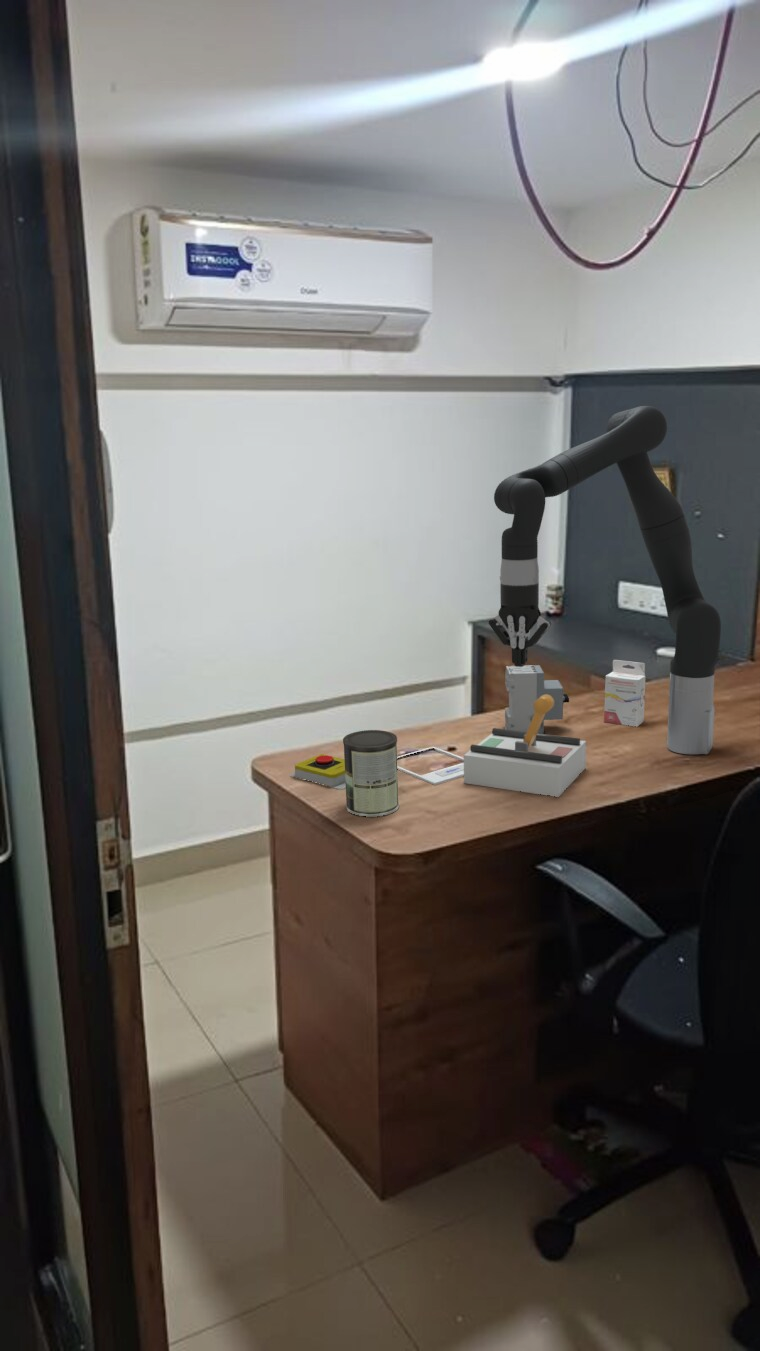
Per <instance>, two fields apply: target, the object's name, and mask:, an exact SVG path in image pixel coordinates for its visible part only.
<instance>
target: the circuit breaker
mask: <svg viewBox="0 0 760 1351" xmlns="http://www.w3.org/2000/svg"><path fill="white" fill-rule="evenodd" d="M504 676H505V677H504V680H505V681H504V684H505V689H506V692H507V693H508V706H507V707H505V708H504V715H505V716H504V720H505V723H504V724H505V725H504V727H505V729H506V730H514V731H522V732H527V731H528V729H529V726H530V724H531V721H532V719H533V717H534V714H535V712H536V711H535V710H534V707H533V705H534V702H535V701H536V700H537V699H538V698H540V697H541V696H542V695H545V694H547V695H550V696H551V697H552V698H553V699H554V706H553V708H552V709H550V710H549V711H548V712H547V713H545V716H544V718H543V721H542V723H541V725H540V728H539V730H538V732H537V733H539V734H544V732H545V730H544V729H545V728H544V725H545V723H544V721H551V720H554V721H556V720H563V719H564V704H565V703H570V698H569V695H568V694H565V693H564V687H563V686H562V684H561V682H560V681H559V680H558V679H545V673H544V671H543V668H542V667H541V665H539V664H538V665H537V664H535V665H534V664H533V665H532V664H531V665H529V664H528V665H524V666H523V667H517V666H515V665H506V667H505V673H504Z"/></svg>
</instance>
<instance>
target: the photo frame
mask: <svg viewBox="0 0 760 1351" xmlns="http://www.w3.org/2000/svg"><path fill="white" fill-rule="evenodd" d="M432 748H434V749H432ZM429 749H430V750H435V752H437V753H440V754H442V753H443V754H442V755H444V756H447V757H449V758H450V757H451V758H453V759H455V760H459V761H461V763H457V764H455V765H452V766H448V767H444V768H441V769H437V770H435V771H432V772H431V771H430V772H428V773H423V774H419V773H416V772H414V771H411V770H408V769H405V768H403V767H401V766H398V765H397V769H398V770H397V771H399V770H400V771H399V772H402V771H403V772H402V773H404V772H405V773H404V774H406V773H407V775H409V774H410V775H409V776H411V775H412V777H414V778H416V779H419V780H420V781H424V782H425V783H428V784H431V785H433V786H437V785H440V784H443V783H447V782H449V781H453V780H456V779H460V778H462V777H463V778H464V756H463V757H462V756H460V755H457V754H455V753H452V752H449V751H446V750H444V749H441V748H438V747H435V746H430V747H427V748H423V749H419V750H416V751H412V752H409V753H405V754H402V755H399V756H398V755H397V760H398V758H399V759H401V758H400V757H402V758H404V757H403V756H406V755H409V756H411V755H410V754H413V755H415V754H414V753H416V754H418V753H417V752H420V753H422V752H421V751H423V752H426V751H425V750H427V751H430V750H429ZM406 757H407V756H406Z"/></svg>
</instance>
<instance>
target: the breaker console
mask: <svg viewBox="0 0 760 1351" xmlns="http://www.w3.org/2000/svg"><path fill="white" fill-rule="evenodd" d="M526 733H527V732H522V731H514V730H506V728H505V729H504V728H496V727H493V728H492V730H491V733H490V734H489V735H488V736H487V737H485V738H484V739H483V740H482V741H480V742H479V743H478V744H473V743H472V744H470V748H469V751H467V752H466V753H465V754H463V758H464V761H463V763H464V776H463V784H467V785H468V784H469V785H476V786H482V787H483V786H484V787H488V788H489V787H490V788H495V789H501V790H507V791H508V790H509V791H514V792H520V791H521V793H526V794H527V793H528V794H536V795H540V794H541V796H547V795H550V796H549V797H554V796H555V797H556V798H559V797H560V796H561V795H562V794H563V793H564V792H565V791H566V790H567V789H568V788H569V786H571V784H572V783H573V782H574V781H575V780H576V779H577V778H578V777H579V776H580V775H581V774H582V772H584V770H586V760H587V759H586V757H587V756H586V755H587V754H586V753H587V752H586V751H587V741H586V740H581V738H578V737H570V736H564V735H563V736H561V735H552V734H539V733H537V735H536V737H535V740H534V742H533V744H532V745H530V746H529V747H528V742H523V741H524V738H525V736H526ZM580 773H581V774H580ZM579 774H580V775H579ZM566 788H567V789H566ZM564 790H565V791H564Z"/></svg>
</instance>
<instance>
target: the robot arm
mask: <svg viewBox="0 0 760 1351" xmlns="http://www.w3.org/2000/svg"><path fill="white" fill-rule="evenodd" d="M667 431H668V423H667V419H666V417H665V416H664V413H663V412H662V411H661V410H660V409H659V408H657V407H655V406H651V405H642V406H636V407H632V408H630V409H629V408H628V409H625V410H623V411H619V412H616V413H614V414H612V416H611V417H610V418H609V420H608V422H607V424H606V433H604V434H601V435H600V436H598V437H595V438H593V439H591V440H589V441H586V442H583V443H581V444H578V445H576V446H575V445H574V446H573V447H571V448H568V449H567V450H564V451H563V452H560V453H559V454H557V455H555V456H553V457H551V458H549V459H548V460H546V461H545V462H543V463H541V464H538V465H537V466H535V467H531V468H528V469H525V470H522V471H519V472H517V473H514V474H512V475H509V476H508V477H506V478H505V479H503V480H502V481H501V482H500V483H499V484H498V485H497V486H496V487H495V488H496V489H495V490H494V495H493V502H494V504H495V506H496V507H497V509H498V510H499V511H500V512H502V513H505V514H507V515H513V519H512V523H511V527H508V528H505V529H504V530H503V531H502V533H501V534H502V535H501V564H500V570H499V571H500V575H499V581H500V591H499V592H500V608H499V610H498V614H497V615H496V616H495V617H493V618H491V619H490V620H488V625H489V626H490V628H491V629H492V630H493V632H494V633H495V634H496V636H497V638H498V639H499V640H500V642H501V643H502V644H503V645H505V646H509V647H510V648H511V663H512V664H514V665H513V666H517V667H523V666H526V665H525V664H527V662H529V661H528V656H529V654H528V648H530V647H533V646H534V645H536V644H537V643H538V642H539V640H540V639H541V638H542V637H543V635H544V634H546V632H547V631H548V630H549V628H551V626H552V623H551V621H550V620H546V619H545V618H544V617H542V613H541V611H540V608H539V599H540V598H539V593H540V592H539V590H540V589H539V588H540V587H539V585H540V584H539V583H540V581H539V579H540V578H539V577H540V575H539V574H540V573H539V572H540V570H539V562H538V554H539V553H538V552H539V551H538V550H539V548H538V547H539V546H538V544H539V543H538V536H539V532H540V530H541V527H542V526H541V524H542V520H543V519H544V518H543V517H544V513H545V509H546V508H545V507H546V498H553V497H557V496H560V495H561V494H563V493H565V492H567V491H568V490H570V489H572V488H574V487H576V486H577V485H579V484H581V483H582V482H584V481H587V479H590V478H591V477H593V476H595V475H597V474H598V473H600V472H602V471H603V470H605V469H607V468H609V467H611V466H613V465H615V464H616V465H617V467H618V470H619V473H620V474H621V477H622V479H623V482H624V484H625V486H626V489H627V492H628V495H629V498H630V500H631V503H632V506H633V509H634V512H635V516H636V518H637V522H638V526H639V529H640V532H641V536H642V539H643V542H644V544H645V547H646V549H647V553H648V555H649V557H650V561H651V563H652V565H653V568H654V571H655V572H656V575H657V577H658V580H659V582H660V586H661V590H662V594H663V599H664V603H665V607H666V608H665V609H666V614H667V619H668V623H669V626H670V629H671V630H672V632H673V633H674V634H675V645H674V646H675V648H674V654H673V657H672V658H671V659H670V663H669V689H668V694H669V695H668V709H667V710H668V713H667V715H668V716H667V733H666V734H667V736H666V740H667V741H666V748H667V749H668V750H669V751H670V752H673V753H677V754H680V755H681V754H682V755H683V754H684V755H709V753H710V751H711V750H712V748H713V747H714V746H713V744H714V731H715V730H714V726H715V709H716V708H715V705H714V690H715V689H714V688H715V674H716V672H715V671H716V665H717V664H718V660H719V656H720V655H719V654H720V643H721V633H722V632H721V631H722V629H721V628H722V623H721V622H722V621H721V615H720V614H719V612H718V609H717V608H715V607H714V606H713V605H712V604H710V603H708V602H707V601H706V599H705V598H704V596H703V593H702V591H701V589H700V586H699V584H698V581H697V578H696V575H695V573H694V568H693V566H694V565H693V550H692V548H693V547H692V546H693V545H692V539H691V534H690V533H691V532H690V530H689V526H688V523H687V519H686V517H685V514H684V511H683V508H682V506H681V504H680V502H679V501H678V499H677V498H676V496H675V495H674V494H673V493H672V492H671V490H669V489H668V487H667V486H666V485H665V484H664V482H662V481H661V479H660V478H659V477H658V476H657V474H656V472H655V470H654V469H653V466H652V463H651V460H650V457H649V455H648V454H649V453H648V452H651V451H653V450H655V449H656V448H659V446H660V445H661V444H662V443H663V441H664V440H665V438H666V435H667ZM536 623H537V624H536ZM503 624H504V625H505V626H504V625H503ZM535 625H536V629H537V630H536V631H535V632H534V633H533V635H532V636H531V630H532V629H533V628H534V626H535ZM505 627H506V628H505ZM506 629H508V631H507V630H506ZM530 636H531V637H530ZM529 637H530V638H529Z"/></svg>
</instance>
